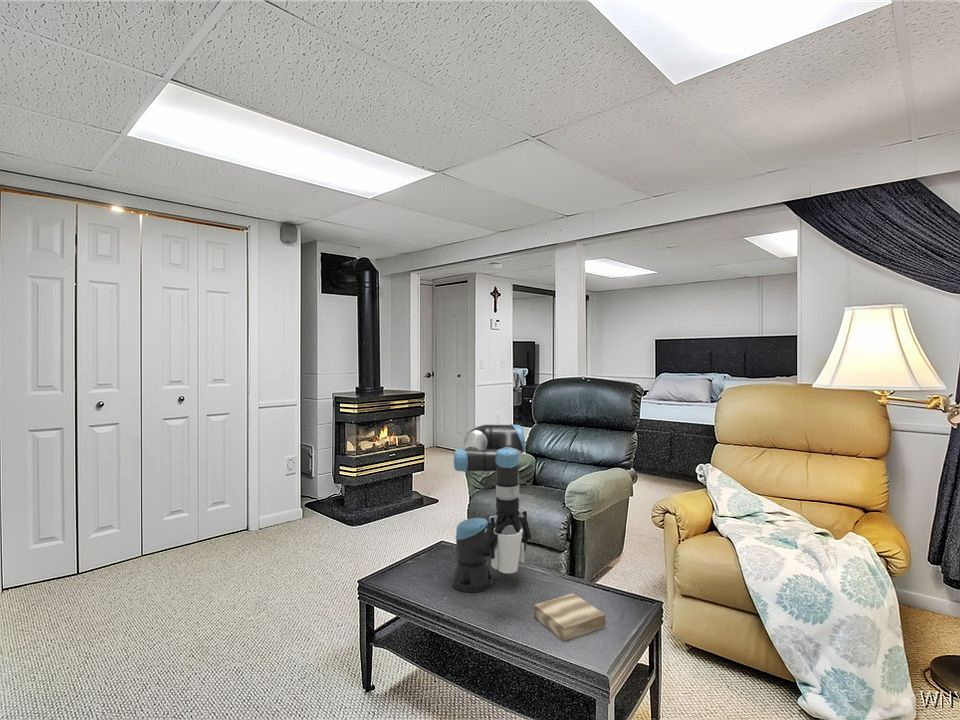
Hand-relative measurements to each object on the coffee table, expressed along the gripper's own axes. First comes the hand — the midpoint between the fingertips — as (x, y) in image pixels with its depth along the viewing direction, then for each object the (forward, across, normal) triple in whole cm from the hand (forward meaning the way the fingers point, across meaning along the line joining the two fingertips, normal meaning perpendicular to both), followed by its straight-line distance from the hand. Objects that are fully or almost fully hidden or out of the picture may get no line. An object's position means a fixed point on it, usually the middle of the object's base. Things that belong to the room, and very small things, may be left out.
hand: (507, 564), depth 171 cm
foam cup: (+2, 0, 0) cm, 2 cm away
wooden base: (+17, +15, -13) cm, 26 cm away
